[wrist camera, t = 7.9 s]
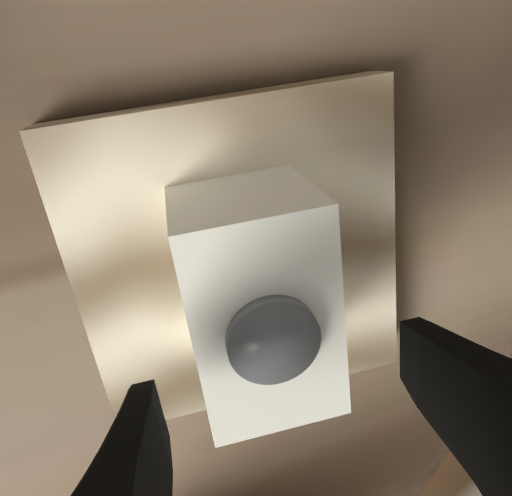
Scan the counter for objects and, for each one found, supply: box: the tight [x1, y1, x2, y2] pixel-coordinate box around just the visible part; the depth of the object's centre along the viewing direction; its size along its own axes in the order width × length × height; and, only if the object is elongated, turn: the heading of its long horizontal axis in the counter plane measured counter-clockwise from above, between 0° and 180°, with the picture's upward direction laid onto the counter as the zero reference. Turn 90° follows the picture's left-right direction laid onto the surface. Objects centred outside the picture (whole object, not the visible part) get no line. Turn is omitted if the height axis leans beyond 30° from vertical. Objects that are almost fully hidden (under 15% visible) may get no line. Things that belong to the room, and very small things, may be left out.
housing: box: [164, 165, 351, 448], centre depth 17 cm, size 8×5×6 cm, turn 8°
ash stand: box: [19, 71, 397, 420], centre depth 21 cm, size 14×14×2 cm
